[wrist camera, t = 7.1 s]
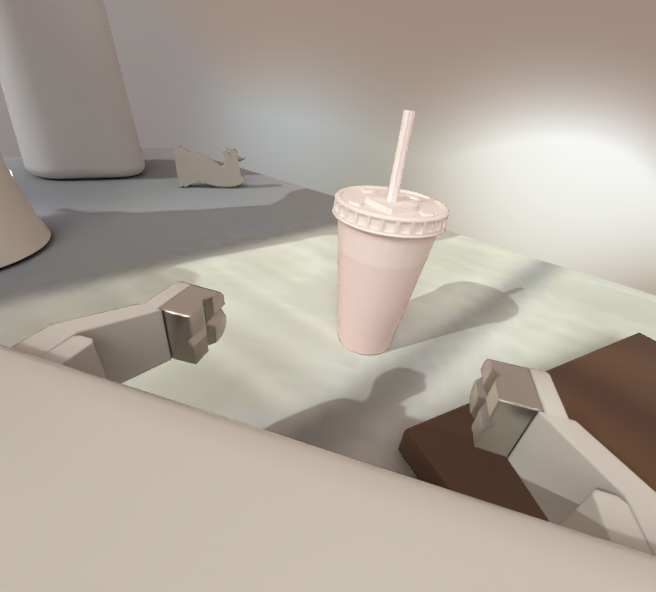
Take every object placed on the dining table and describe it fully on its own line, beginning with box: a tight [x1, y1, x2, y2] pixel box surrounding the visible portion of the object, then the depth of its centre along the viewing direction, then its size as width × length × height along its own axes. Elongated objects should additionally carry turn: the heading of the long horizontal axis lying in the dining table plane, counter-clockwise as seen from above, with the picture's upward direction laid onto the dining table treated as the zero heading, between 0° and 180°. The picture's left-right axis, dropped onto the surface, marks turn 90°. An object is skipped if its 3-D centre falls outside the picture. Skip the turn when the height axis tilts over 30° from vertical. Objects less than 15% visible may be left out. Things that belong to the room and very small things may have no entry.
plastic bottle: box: [0, 0, 145, 179], centre depth 46 cm, size 15×15×28 cm
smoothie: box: [332, 110, 449, 355], centre depth 20 cm, size 6×6×14 cm
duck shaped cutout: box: [173, 145, 245, 188], centre depth 50 cm, size 6×1×10 cm
